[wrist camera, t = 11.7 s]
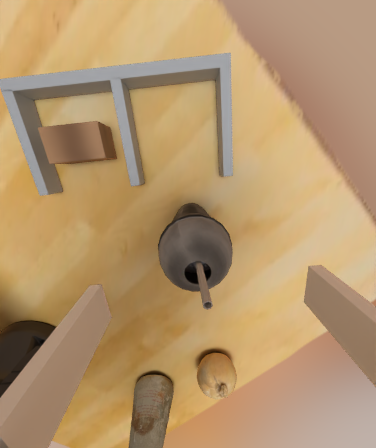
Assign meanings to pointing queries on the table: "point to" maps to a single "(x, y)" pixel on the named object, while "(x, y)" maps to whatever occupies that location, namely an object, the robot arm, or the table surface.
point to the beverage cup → (195, 251)
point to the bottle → (150, 411)
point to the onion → (216, 376)
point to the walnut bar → (78, 143)
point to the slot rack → (119, 85)
